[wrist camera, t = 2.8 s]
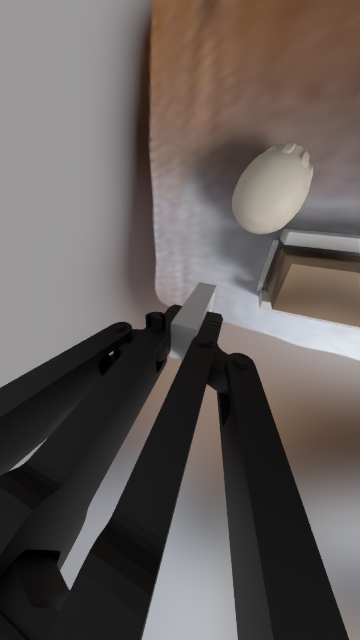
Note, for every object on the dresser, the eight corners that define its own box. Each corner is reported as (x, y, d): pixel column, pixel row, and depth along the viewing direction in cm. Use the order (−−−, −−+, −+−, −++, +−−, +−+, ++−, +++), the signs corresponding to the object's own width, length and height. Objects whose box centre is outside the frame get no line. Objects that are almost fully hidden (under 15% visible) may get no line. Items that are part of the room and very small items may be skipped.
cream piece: (321, 173, 17) (351, 157, 12) (267, 240, 22) (272, 251, 16) (265, 138, 17) (271, 107, 12) (224, 213, 22) (215, 214, 16)
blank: (280, 247, 22) (291, 263, 15) (374, 258, 19) (434, 283, 13) (266, 283, 24) (271, 309, 18) (347, 297, 22) (384, 332, 16)
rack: (277, 227, 20) (281, 231, 17) (460, 244, 16) (509, 252, 13) (253, 295, 26) (254, 307, 23) (386, 320, 22) (409, 339, 19)
